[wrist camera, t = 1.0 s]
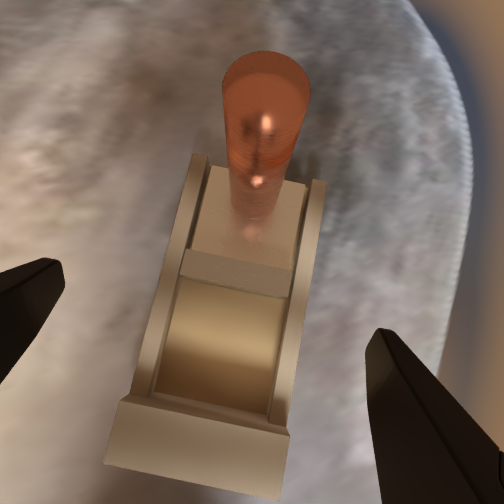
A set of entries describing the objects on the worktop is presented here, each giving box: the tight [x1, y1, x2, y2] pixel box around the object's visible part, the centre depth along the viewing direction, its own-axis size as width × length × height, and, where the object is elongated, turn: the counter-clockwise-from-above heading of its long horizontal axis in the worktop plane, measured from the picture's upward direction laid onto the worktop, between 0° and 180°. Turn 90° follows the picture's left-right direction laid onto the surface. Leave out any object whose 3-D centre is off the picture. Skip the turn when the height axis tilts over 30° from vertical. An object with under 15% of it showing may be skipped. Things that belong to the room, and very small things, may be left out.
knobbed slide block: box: [180, 51, 310, 299], centre depth 16 cm, size 8×6×11 cm
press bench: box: [103, 154, 328, 501], centre depth 20 cm, size 18×9×4 cm, turn 168°
